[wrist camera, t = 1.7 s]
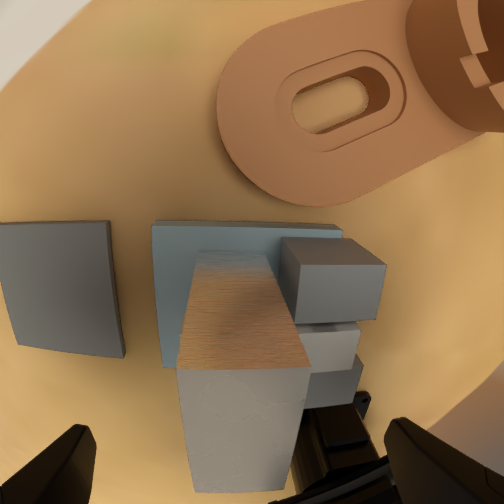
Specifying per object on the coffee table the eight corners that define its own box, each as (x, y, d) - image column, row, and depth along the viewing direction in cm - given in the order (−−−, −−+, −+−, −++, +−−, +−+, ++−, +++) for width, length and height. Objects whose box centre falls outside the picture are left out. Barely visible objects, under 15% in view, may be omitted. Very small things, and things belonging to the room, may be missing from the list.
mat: (125, 352, 17) (123, 358, 17) (21, 339, 16) (17, 344, 16) (109, 220, 15) (105, 223, 14) (-4, 223, 14) (-10, 225, 14)
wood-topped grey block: (257, 353, 17) (283, 489, 8) (201, 353, 16) (194, 492, 8) (263, 250, 15) (311, 366, 7) (198, 249, 15) (175, 368, 6)
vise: (323, 353, 19) (352, 413, 13) (165, 355, 18) (151, 421, 12) (343, 224, 16) (393, 258, 11) (156, 220, 15) (125, 255, 10)
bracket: (448, 1, 12) (515, -28, 6) (496, 112, 15) (572, 114, 8) (188, 79, 13) (163, 28, 7) (265, 225, 16) (295, 278, 9)
